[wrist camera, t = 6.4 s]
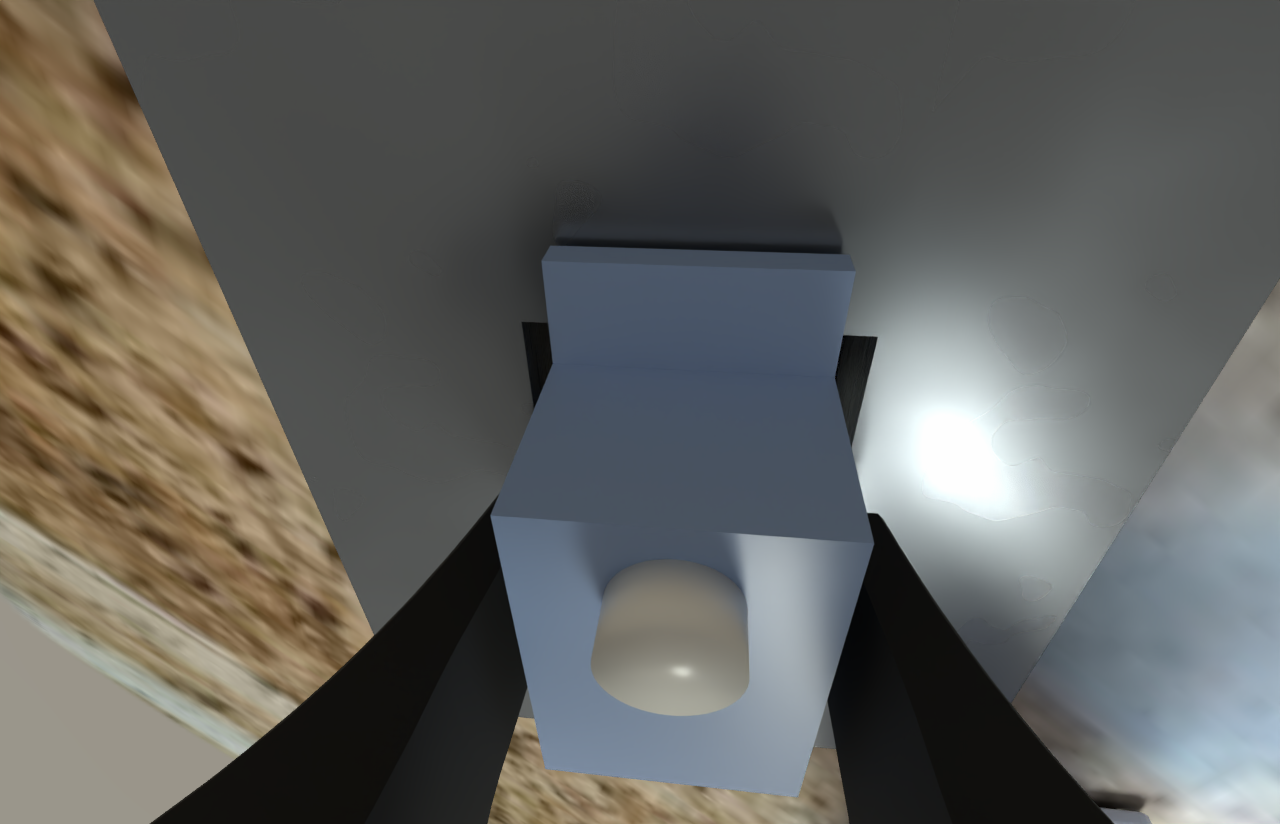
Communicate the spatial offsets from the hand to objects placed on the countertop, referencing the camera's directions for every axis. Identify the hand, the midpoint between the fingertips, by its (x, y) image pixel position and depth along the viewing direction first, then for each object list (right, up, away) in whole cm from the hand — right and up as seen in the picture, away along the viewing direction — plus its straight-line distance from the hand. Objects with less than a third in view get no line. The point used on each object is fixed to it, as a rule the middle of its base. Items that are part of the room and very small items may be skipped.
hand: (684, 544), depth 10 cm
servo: (0, +2, +2) cm, 3 cm away
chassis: (0, +2, +2) cm, 3 cm away
